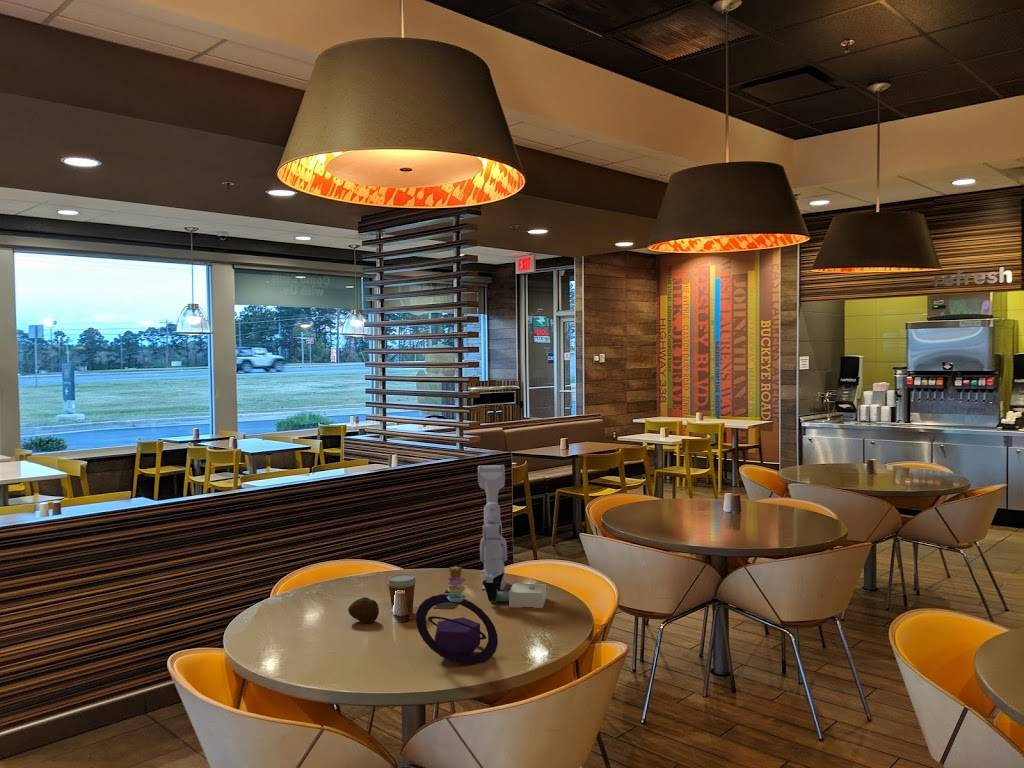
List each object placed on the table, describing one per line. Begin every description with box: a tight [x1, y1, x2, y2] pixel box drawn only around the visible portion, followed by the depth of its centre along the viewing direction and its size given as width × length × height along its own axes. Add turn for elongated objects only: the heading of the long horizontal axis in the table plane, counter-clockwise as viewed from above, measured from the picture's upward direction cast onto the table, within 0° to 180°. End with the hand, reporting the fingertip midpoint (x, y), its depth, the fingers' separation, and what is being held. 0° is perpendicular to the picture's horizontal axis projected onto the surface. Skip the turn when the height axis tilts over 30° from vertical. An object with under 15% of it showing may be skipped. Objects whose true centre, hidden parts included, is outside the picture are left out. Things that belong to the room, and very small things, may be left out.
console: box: [432, 588, 461, 610], centre depth 272 cm, size 15×7×2 cm, turn 171°
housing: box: [508, 582, 547, 609], centre depth 268 cm, size 10×11×6 cm
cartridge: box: [489, 589, 509, 604], centre depth 269 cm, size 3×15×4 cm, turn 81°
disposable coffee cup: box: [386, 573, 417, 616], centre depth 260 cm, size 10×10×12 cm
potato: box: [347, 596, 380, 624], centre depth 253 cm, size 7×10×8 cm
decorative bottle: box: [415, 566, 499, 666], centre depth 223 cm, size 22×21×25 cm
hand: (494, 597), depth 270 cm, fingers open, 7 cm apart
